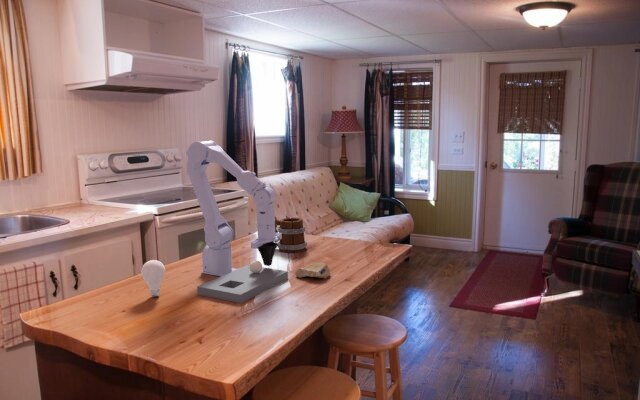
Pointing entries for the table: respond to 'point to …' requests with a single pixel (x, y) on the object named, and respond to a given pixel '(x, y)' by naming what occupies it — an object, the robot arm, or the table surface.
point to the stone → (314, 270)
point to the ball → (255, 267)
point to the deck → (242, 284)
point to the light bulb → (153, 276)
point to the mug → (291, 235)
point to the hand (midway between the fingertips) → (267, 265)
